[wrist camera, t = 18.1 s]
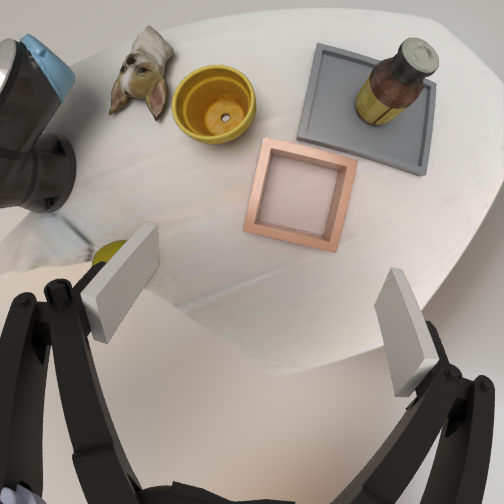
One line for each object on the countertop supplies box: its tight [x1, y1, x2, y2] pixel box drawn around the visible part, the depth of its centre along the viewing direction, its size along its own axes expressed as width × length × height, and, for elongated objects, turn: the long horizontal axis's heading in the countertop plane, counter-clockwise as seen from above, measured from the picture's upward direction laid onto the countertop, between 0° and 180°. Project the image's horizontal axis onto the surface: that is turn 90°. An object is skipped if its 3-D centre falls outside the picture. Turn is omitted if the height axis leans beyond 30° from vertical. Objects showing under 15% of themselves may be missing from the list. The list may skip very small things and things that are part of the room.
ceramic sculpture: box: [109, 26, 174, 122], centre depth 38 cm, size 11×9×15 cm
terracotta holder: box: [243, 137, 358, 253], centre depth 41 cm, size 12×12×6 cm
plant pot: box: [172, 65, 256, 144], centre depth 38 cm, size 10×10×10 cm
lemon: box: [92, 240, 127, 266], centre depth 44 cm, size 11×8×8 cm
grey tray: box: [297, 43, 436, 176], centre depth 39 cm, size 20×16×2 cm
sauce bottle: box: [355, 38, 439, 126], centre depth 29 cm, size 7×6×20 cm
